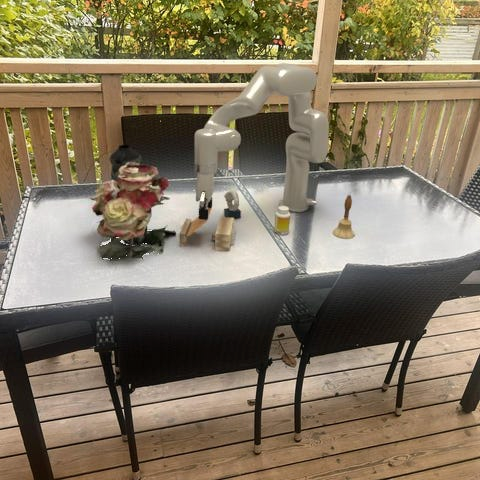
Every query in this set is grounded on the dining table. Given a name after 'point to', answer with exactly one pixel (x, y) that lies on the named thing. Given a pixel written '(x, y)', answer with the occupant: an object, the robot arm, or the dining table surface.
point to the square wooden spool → (220, 237)
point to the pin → (231, 236)
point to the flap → (197, 224)
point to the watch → (232, 205)
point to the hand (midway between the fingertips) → (205, 213)
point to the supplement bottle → (282, 220)
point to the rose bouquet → (130, 212)
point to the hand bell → (345, 222)
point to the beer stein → (122, 160)
